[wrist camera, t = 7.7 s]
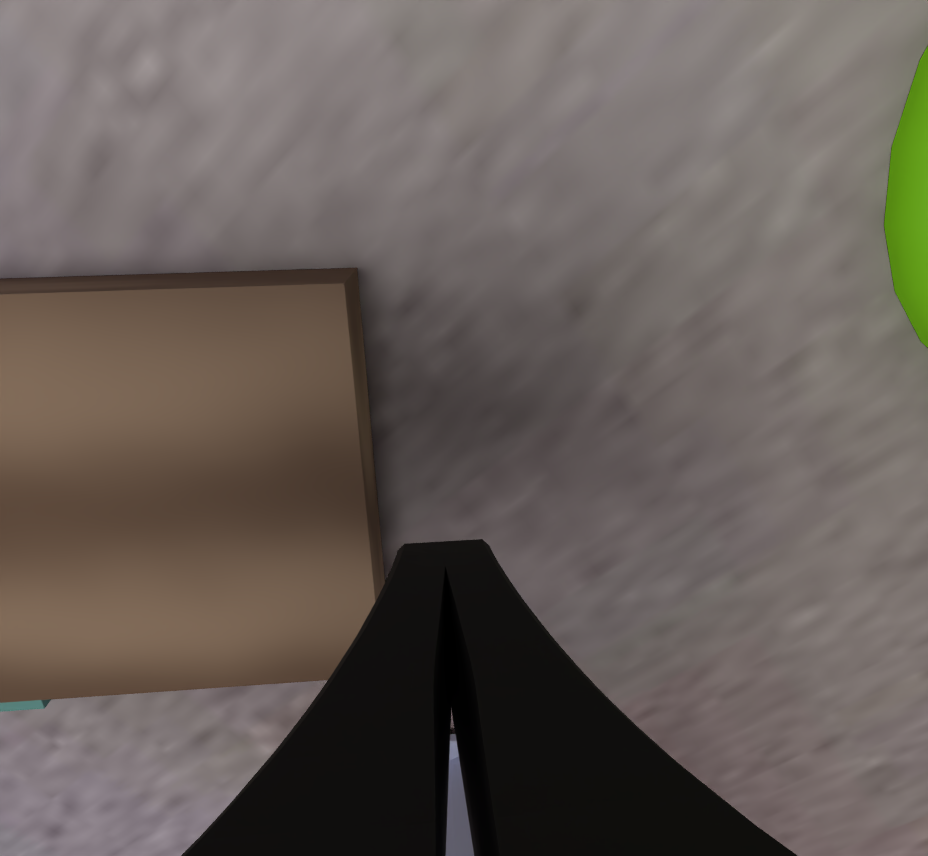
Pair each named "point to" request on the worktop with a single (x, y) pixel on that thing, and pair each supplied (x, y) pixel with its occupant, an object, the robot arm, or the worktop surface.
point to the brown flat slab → (183, 481)
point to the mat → (24, 705)
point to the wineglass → (910, 205)
